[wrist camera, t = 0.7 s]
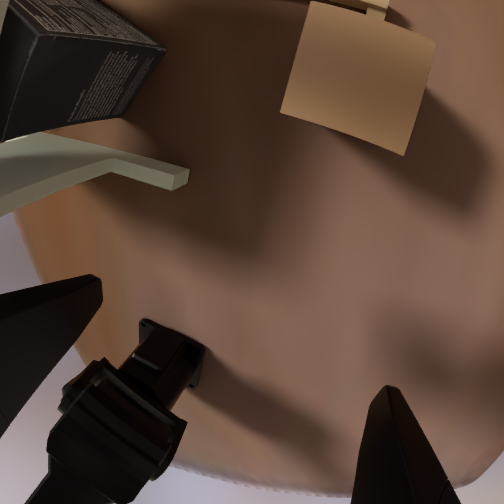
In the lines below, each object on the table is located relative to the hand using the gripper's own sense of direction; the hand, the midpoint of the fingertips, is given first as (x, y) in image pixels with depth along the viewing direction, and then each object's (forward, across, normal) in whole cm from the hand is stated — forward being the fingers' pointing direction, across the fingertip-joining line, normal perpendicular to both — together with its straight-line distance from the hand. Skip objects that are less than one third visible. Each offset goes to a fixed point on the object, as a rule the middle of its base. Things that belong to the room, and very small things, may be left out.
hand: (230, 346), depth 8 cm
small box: (+12, +17, -9) cm, 22 cm away
